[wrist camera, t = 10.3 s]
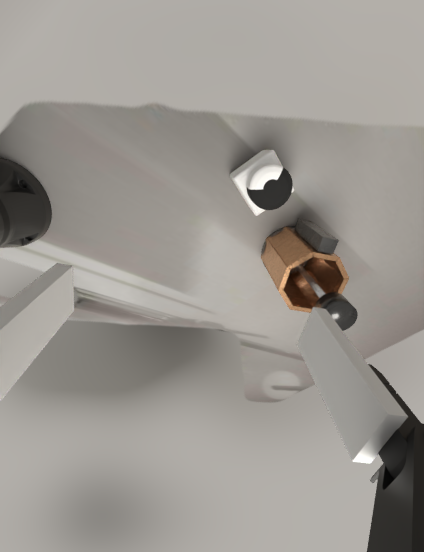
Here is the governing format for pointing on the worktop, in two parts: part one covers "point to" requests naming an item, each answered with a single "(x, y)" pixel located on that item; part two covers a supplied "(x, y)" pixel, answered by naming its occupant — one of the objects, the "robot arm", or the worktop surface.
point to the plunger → (330, 301)
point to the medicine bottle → (263, 182)
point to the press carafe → (295, 250)
